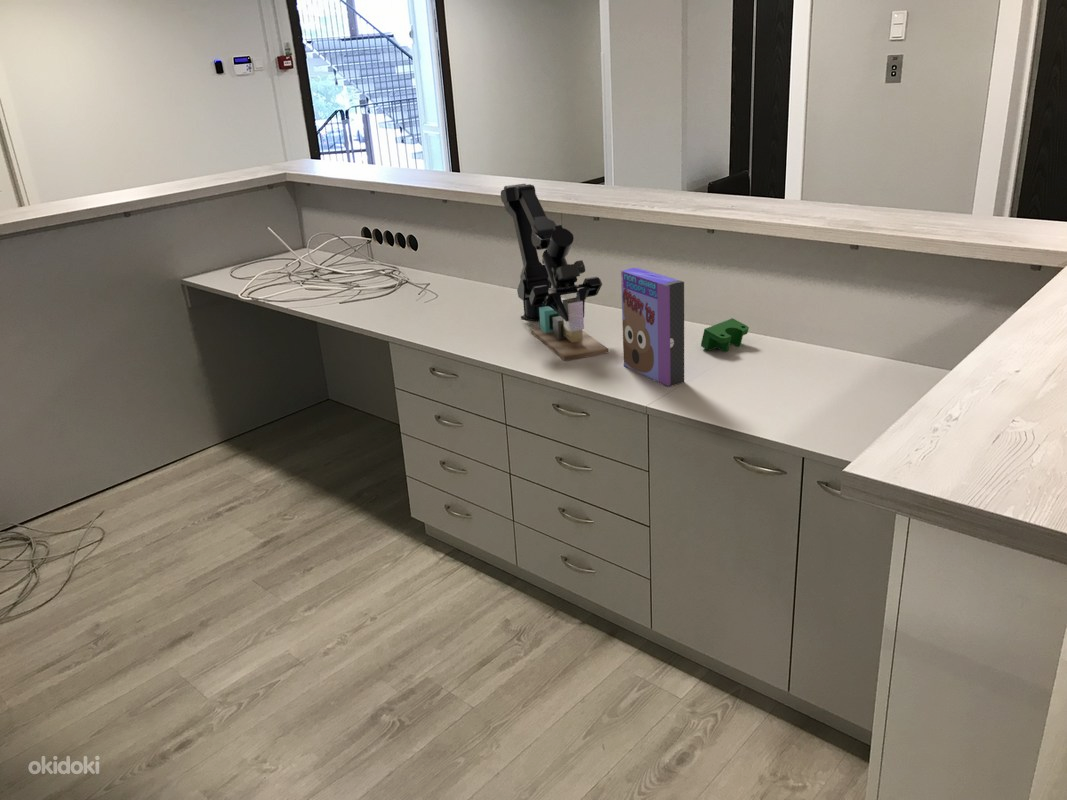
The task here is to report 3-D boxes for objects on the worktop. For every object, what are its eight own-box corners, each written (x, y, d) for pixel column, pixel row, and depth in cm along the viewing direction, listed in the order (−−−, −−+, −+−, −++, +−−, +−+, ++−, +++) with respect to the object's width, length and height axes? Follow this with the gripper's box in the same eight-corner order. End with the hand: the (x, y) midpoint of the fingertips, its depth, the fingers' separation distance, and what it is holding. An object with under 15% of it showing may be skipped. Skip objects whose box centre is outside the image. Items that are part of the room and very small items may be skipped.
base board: (531, 332, 243) (531, 329, 242) (571, 325, 246) (571, 322, 246) (565, 360, 220) (564, 356, 220) (608, 352, 224) (608, 348, 224)
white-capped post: (549, 326, 240) (546, 289, 236) (562, 324, 241) (560, 287, 237) (570, 342, 226) (568, 303, 222) (584, 340, 227) (582, 301, 223)
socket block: (540, 328, 242) (539, 307, 240) (564, 324, 244) (562, 303, 242) (545, 332, 239) (544, 311, 236) (569, 328, 241) (568, 307, 238)
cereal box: (623, 366, 214) (620, 270, 205) (639, 361, 216) (637, 266, 207) (667, 387, 200) (666, 284, 191) (684, 382, 202) (684, 280, 193)
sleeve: (553, 336, 236) (552, 317, 233) (572, 333, 237) (571, 314, 235) (559, 340, 232) (557, 321, 230) (577, 337, 234) (576, 317, 231)
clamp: (720, 368, 220) (718, 343, 214) (702, 358, 224) (699, 333, 217) (751, 340, 224) (750, 315, 218) (733, 331, 228) (731, 305, 221)
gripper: (529, 256, 221) (547, 309, 215) (597, 246, 226) (617, 297, 220) (521, 279, 231) (538, 331, 225) (587, 269, 236) (605, 319, 230)
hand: (575, 319), depth 225 cm, fingers closed on white-capped post, 4 cm apart
